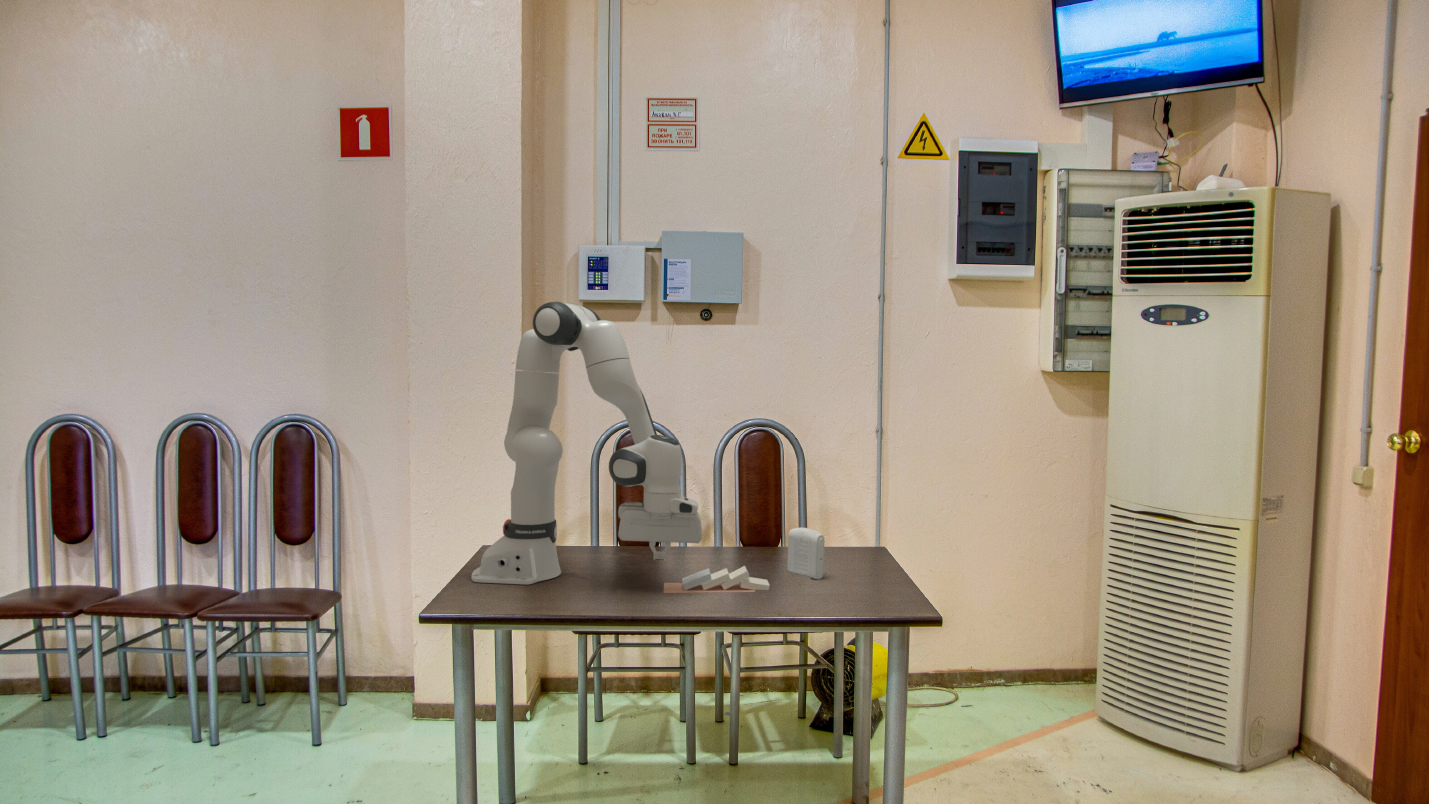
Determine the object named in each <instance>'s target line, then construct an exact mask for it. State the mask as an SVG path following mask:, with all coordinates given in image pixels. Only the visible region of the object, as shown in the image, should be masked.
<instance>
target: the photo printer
mask: <svg viewBox="0 0 1429 804" xmlns="http://www.w3.org/2000/svg"><path fill="white" fill-rule="evenodd" d="M825 542H826V540H825V536H824V534H822V533H820V532H819V531H817V530H814V529H811V528H808V527H795V528H792V529H790V530H789V532H788V536H787V571H788V572H791V573H794V574H799V575H802V576H805V577H810V578H811V579H813V580H814V579H815V580H821V579H822V578H824V574H825Z"/></svg>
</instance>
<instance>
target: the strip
mask: <svg viewBox="0 0 1429 804" xmlns="http://www.w3.org/2000/svg"><path fill="white" fill-rule="evenodd" d="M692 593H693V594H699V593H700V594H701V593H702V594H703V593H705V594H706V593H710V594H711V593H712V594H715V593H756V590H752V589H745V588H740V585H739V583H737V584H735V585H733V586H732V587H730V588H728V589H726V590H724V589H723V587H722V585H721V584H719V585H716V586H714V587H711V588H709V589H707V590H703V587H702V585H701V584H700V585H698V586H695V587H693V588H690V589H688V590H685V589H684V587H683V582H664V583H663V594H692Z"/></svg>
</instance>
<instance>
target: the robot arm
mask: <svg viewBox="0 0 1429 804" xmlns="http://www.w3.org/2000/svg"><path fill="white" fill-rule="evenodd" d="M624 339H625V338H624V336H623V335H622V332H621V330H620V327H619V326H618V325H617V324H616V323H615V322H613V321H611V320H604V319H602V320H601V317H600V315H598V314H597V312H596V311H594V310H593V309H592V308H589V307H585V306H582V305H579V304H575V303H573V302H571V303H569V302H568V303H567V302H561V301H550V302H546V303H543V304H541V305H540V306H539V307H538V308H537V309H536V310H535V312H534V314H533V317H532V329H529V330H526V331H524V332H523V334H522V336H521V338H520V342H519V346H518V350H517V356H516V362H515V371H514V372H515V373H514V374H515V375H514V385H513V386H514V388H513V400H512V406H511V411H510V415H509V418H508V419H509V420H508V423H507V428H506V434H505V437H504V441H503V442H504V443H503V444H504V450H505V452H506V454H507V456H508V458H509V459H510V460H512V461H513V462H515V471H514V478H513V482H512V483H513V484H512V488H511V490H510V518H508V519H506V520H505V521H504V523H503V525H502V533H503V536H502V537H500V538H499V539H498V540H495V542H494V543H493V544H491V545H490V546H489V547H488V548H486V550H485V551H484V552H483V555H482V557H481V560H480V566H478V567H477V568H475V569H474V570H473V571H472V573H471V579H470V580H471V581H472V582H474V583H483V584H484V583H486V584H487V583H488V584H491V583H492V584H506V585H507V584H508V585H532V584H536V583H538V582H542V581H547V580H551V579H553V578H556V577H558V576H560V575H561V574H562V569H561V566H560V563H559V559H558V558H559V557H558V553H557V552H558V551H557V545H556V544H557V543H556V542H557V539H558V527H557V526H558V524H557V520H556V518H555V508H556V507H555V501H556V500H555V499H556V498H555V495H556V493H555V492H556V491H555V490H556V485H557V478H558V477H557V476H558V473H559V464H560V461H561V460H562V457H563V451H564V450H563V444H562V442H561V440H560V439H559V437H558V436H557V435H556V434H555V433H554V431H552V430H550V427H551V423H552V419H553V414H554V412H555V408H556V407H557V405H558V398H559V397H558V396H559V384H560V383H559V382H560V381H559V380H560V369H561V368H560V365H561V364H560V363H561V357H562V355H563V354H564V352H565V351H566V350H567V351H569V352H574V351H577V350H580V352H581V354H582V357H583V360H584V366H585V369H586V375H587V378H588V382H589V385H590V386H591V389H592V391H593V392H594V393H595V394H596V396H597V397H599V398H600V399H602V400H603V401H606V402H607V403H609V404H612V405H613V406H615V407H616V408H618V410H619V411H621V413H623V415H624V417H625V419H626V422H627V425H628V428H629V431H630V435H631V438H632V440H633V443H634V444H633V445H629V446H626V447H623V448H622V447H621V448H620V449H617V450H615V451H614V452H613V453H612V455H611V456H610V459H609V461H608V471H609V475H610V478H612V480H613V481H614V483H615V484H617V485H619V486H623V487H634V486H643V501H624V502H623V503H621V504H620V505H619V507H618V510H617V515H618V519H619V520H620V521H619V526H618V535H617V536H618V538H619V539H620V541H626V542H627V541H628V542H649V543H648V544H649V548H650V550H651V551H652V553H653V561H666V559H667V558H666V556H667V552H668V551H669V550H670V548H671V544H672V543H676V544H677V543H678V544H679V543H682V544H683V543H684V544H700V542H701V541H702V540H703V526H702V518H701V515H700V513H699V512H698V510H699V504H698V502H697V501H696V500H694V499H691V498H688V497H685V496H683V495H681V491H682V490H681V487H680V479H681V476H682V448H681V445H680V443H679V441H678V440H677V439H675V438H673V437H671V436H667V435H662V434H658V433H657V431H656V427H655V424H654V421H653V419H652V415H651V412H650V409H649V406H648V404H647V401H646V398H645V395H644V393H643V392H642V389H641V388H640V386H639V384H638V381H637V379H636V376H635V372H634V369H633V366H632V363H631V359H630V358H631V357H630V355H629V351H628V348H627V345H626V342H625V340H624ZM656 543H664V547H665V548H664V549H663V550H662V551H657V548H656Z"/></svg>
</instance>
